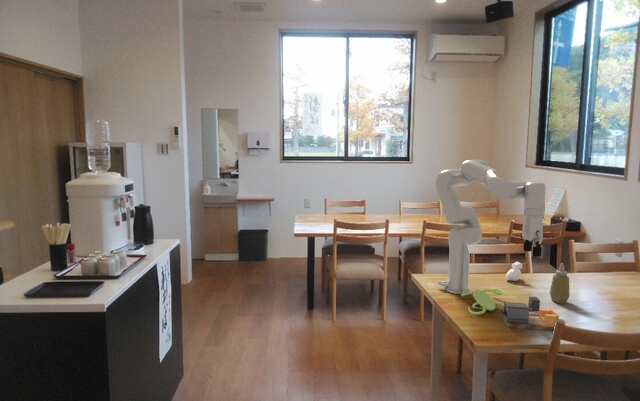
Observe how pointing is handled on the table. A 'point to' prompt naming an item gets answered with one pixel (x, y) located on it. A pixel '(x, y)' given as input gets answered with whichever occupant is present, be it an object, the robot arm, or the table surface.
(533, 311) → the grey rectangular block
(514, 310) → the grey sleeve
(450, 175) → the robot arm
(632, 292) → the table surface
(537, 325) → the walnut board
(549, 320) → the orange socket
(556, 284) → the squeeze bottle
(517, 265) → the bust
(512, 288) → the table surface
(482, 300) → the figurine
